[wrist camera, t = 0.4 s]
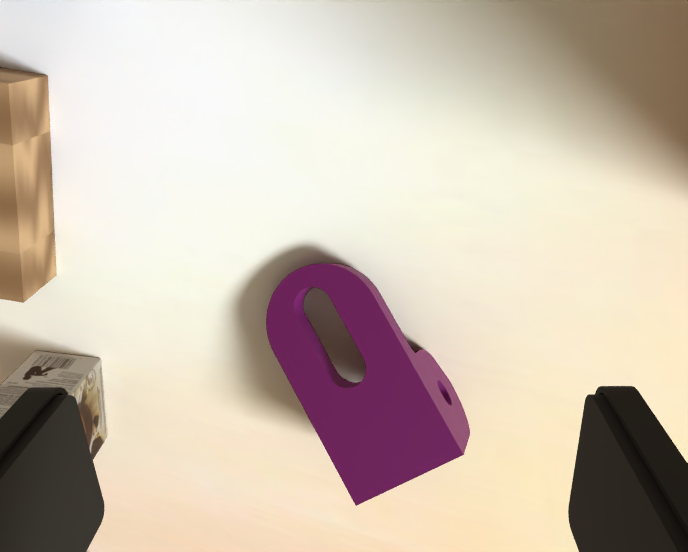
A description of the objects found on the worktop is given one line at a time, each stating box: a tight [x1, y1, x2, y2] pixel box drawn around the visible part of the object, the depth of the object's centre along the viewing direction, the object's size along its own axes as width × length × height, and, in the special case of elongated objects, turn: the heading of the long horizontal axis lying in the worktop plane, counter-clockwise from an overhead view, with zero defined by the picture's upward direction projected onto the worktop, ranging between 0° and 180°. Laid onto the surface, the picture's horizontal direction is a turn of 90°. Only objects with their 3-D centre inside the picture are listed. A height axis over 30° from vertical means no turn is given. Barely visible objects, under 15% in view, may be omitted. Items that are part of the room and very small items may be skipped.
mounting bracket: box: [266, 263, 470, 505], centre depth 49 cm, size 10×8×18 cm
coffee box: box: [0, 351, 107, 460], centre depth 47 cm, size 9×6×16 cm
